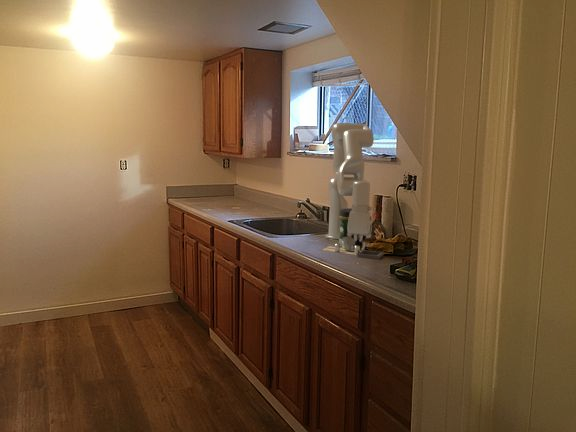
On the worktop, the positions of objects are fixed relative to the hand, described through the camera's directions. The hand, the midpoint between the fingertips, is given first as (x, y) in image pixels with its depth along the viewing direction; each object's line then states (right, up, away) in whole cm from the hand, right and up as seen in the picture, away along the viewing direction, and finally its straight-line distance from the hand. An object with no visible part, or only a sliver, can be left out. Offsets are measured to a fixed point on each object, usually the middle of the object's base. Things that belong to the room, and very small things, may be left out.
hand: (358, 249), depth 234 cm
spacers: (-4, -1, +2) cm, 4 cm away
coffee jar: (-3, 0, +14) cm, 14 cm away
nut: (-3, 0, +2) cm, 3 cm away
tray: (+4, -3, -8) cm, 10 cm away
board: (-6, -1, +3) cm, 7 cm away
